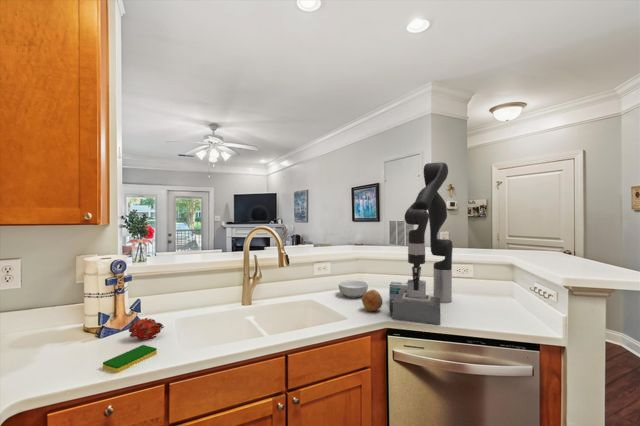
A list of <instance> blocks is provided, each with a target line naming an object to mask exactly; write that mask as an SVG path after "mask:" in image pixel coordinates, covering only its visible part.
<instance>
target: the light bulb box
mask: <svg viewBox="0 0 640 426" xmlns="http://www.w3.org/2000/svg"><path fill="white" fill-rule="evenodd" d="M404 293H407V282H402V281H401V282H400V281H393V280H392V281H391V282H390V283H389V295H388V296H389V298H388V299H389V301H388V302H389V304H390V299H394V297H395V295H396V294H404Z"/></svg>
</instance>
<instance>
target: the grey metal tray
mask: <svg viewBox="0 0 640 426" xmlns="http://www.w3.org/2000/svg"><path fill="white" fill-rule="evenodd" d="M388 306H389V308H388V309H389V313H392V320H394V319H395V321H396V320H397V321H403V322H404V321H405V322H411V323H412V322H413V323H420V324H427V325H428V324H430V325H436V326H437V325H439V326H441V302H440V298H439V297H434V296H431V294H426V299H421V298H410V297H408V293H404V294H396V295H395V297H394V299H390V304H389V305H388Z"/></svg>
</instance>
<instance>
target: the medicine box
mask: <svg viewBox="0 0 640 426" xmlns="http://www.w3.org/2000/svg"><path fill="white" fill-rule="evenodd" d="M406 283H407V293H408V297H410V298H421V299H426V295H427V290H426V289H427V282H426V280H423V279H420V280H419V290H418V291H417V290H414V282H413V279H407V282H406Z"/></svg>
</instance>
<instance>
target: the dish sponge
mask: <svg viewBox="0 0 640 426" xmlns="http://www.w3.org/2000/svg"><path fill="white" fill-rule="evenodd" d="M157 350H158V349H157V347H153V346H149V345H146V344H141V345H139V346H137V347H135V348H133V349H130V350H128V351H126V352H124V353H120V354H119V355H117V356H114V357H112V358H110V359H107V360H104V361H103V362H102V370H104V369H105V370H104V371H108V372H111V371H112V372H111V373H114V374H119V373H121V372H123V371H125V370H128V369H129V368H131V367H133V366H132V365H134V364H136V365H137V363H138V364H139V362H140V363H142V362H144V361H145V359H146V360H147V359H150V358H152V357H155V355H158V351H157ZM143 360H144V361H143ZM141 361H142V362H141ZM130 366H131V367H130ZM134 366H135V365H134Z"/></svg>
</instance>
